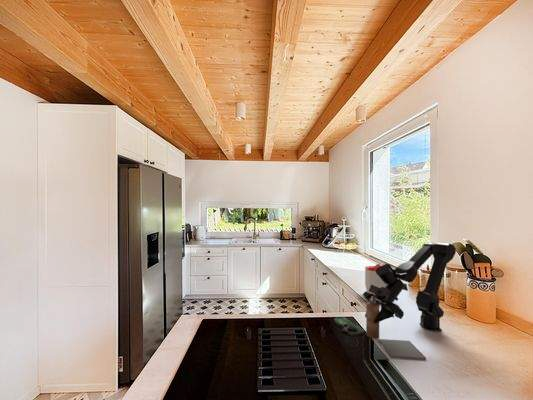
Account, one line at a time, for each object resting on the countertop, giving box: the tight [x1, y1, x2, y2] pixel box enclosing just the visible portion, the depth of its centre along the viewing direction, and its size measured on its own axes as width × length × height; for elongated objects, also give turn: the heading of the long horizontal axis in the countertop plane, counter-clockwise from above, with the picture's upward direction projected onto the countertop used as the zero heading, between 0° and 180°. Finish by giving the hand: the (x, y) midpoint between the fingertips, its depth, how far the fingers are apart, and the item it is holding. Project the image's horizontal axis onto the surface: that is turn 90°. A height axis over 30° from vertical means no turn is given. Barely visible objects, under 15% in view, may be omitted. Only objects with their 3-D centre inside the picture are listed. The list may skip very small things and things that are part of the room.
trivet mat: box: [377, 338, 427, 361], centre depth 97 cm, size 12×12×1 cm
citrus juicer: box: [364, 263, 387, 298], centre depth 160 cm, size 16×17×20 cm
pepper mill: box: [365, 299, 380, 340], centre depth 109 cm, size 5×5×14 cm
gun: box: [333, 316, 366, 337], centre depth 116 cm, size 16×2×10 cm
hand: (370, 319), depth 108 cm, fingers closed on pepper mill, 5 cm apart
